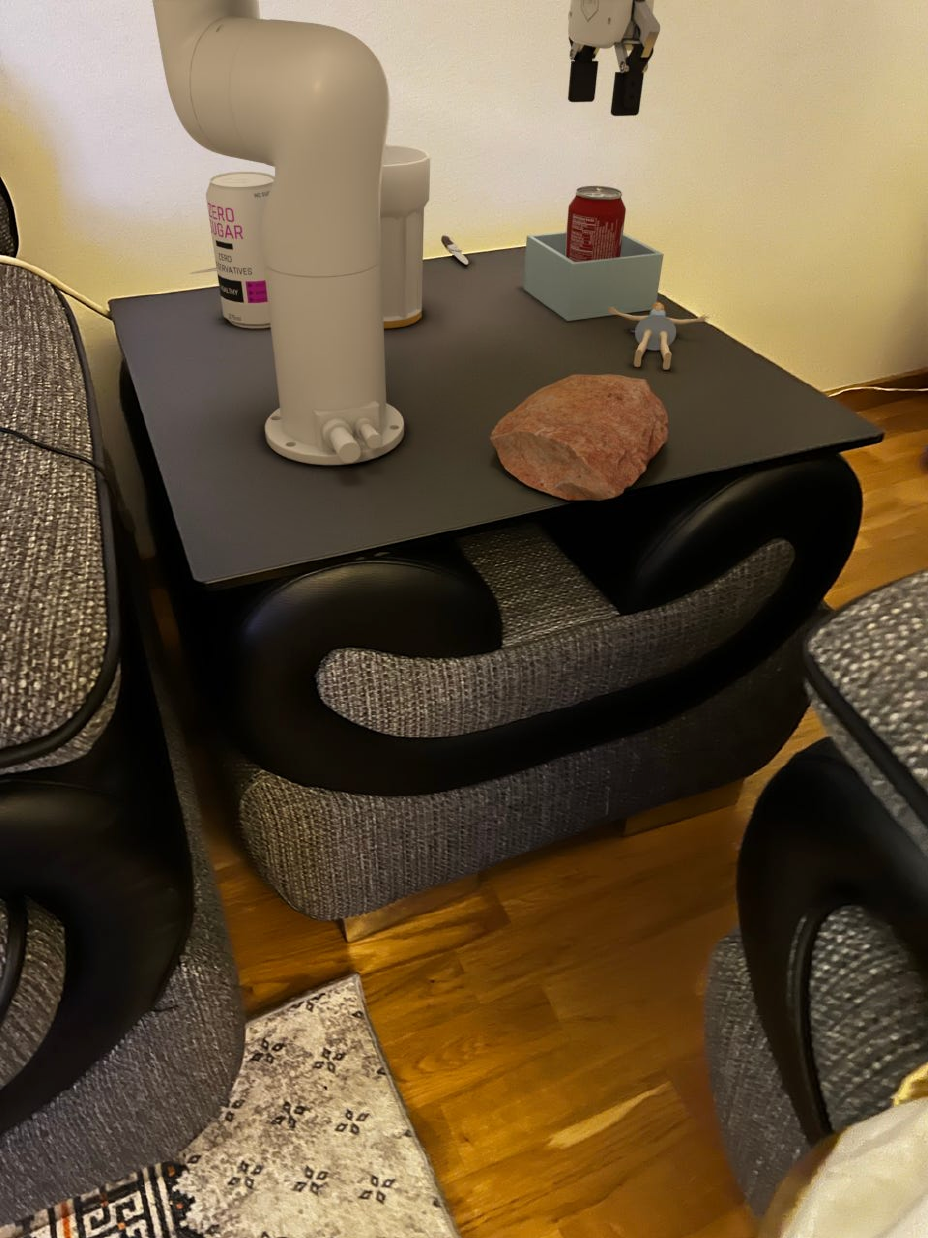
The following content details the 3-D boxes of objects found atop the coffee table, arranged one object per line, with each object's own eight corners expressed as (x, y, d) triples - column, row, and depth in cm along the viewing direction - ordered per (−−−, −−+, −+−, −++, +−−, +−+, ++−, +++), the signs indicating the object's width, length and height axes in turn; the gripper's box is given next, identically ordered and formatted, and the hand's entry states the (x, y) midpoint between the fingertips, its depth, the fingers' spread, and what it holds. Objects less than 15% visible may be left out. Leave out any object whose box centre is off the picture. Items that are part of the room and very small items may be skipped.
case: (655, 309, 111) (663, 253, 107) (567, 321, 107) (572, 263, 103) (606, 279, 120) (612, 226, 116) (523, 289, 116) (526, 235, 112)
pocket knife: (449, 240, 133) (436, 238, 132) (450, 234, 132) (437, 232, 132) (472, 269, 123) (458, 267, 122) (473, 262, 122) (459, 260, 121)
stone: (558, 411, 92) (464, 485, 77) (560, 353, 89) (462, 419, 74) (694, 432, 86) (621, 516, 71) (701, 371, 83) (626, 446, 68)
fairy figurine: (601, 332, 95) (610, 283, 103) (596, 374, 98) (605, 323, 106) (712, 342, 93) (712, 292, 102) (704, 384, 97) (704, 331, 105)
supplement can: (301, 307, 109) (289, 171, 100) (284, 332, 103) (269, 189, 93) (236, 303, 110) (217, 168, 100) (214, 328, 103) (192, 186, 94)
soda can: (613, 305, 110) (626, 200, 103) (558, 301, 111) (567, 196, 103) (616, 287, 115) (628, 186, 108) (563, 283, 116) (572, 182, 109)
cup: (329, 302, 111) (318, 144, 100) (419, 296, 113) (417, 141, 102) (344, 335, 102) (333, 167, 91) (441, 328, 105) (442, 163, 94)
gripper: (550, -90, 95) (537, 97, 105) (635, -90, 82) (611, 122, 93) (612, -87, 97) (593, 96, 108) (704, -87, 85) (673, 120, 95)
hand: (601, 107), depth 100 cm, fingers open, 9 cm apart
